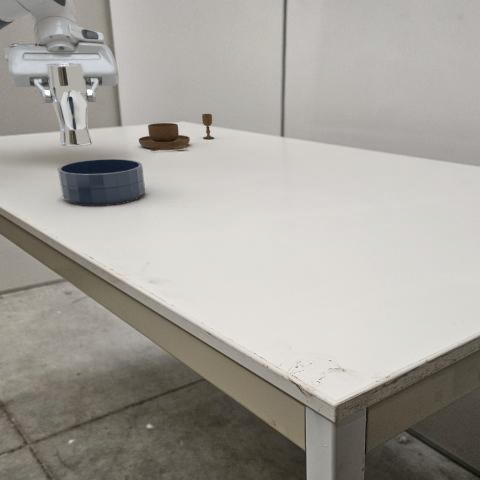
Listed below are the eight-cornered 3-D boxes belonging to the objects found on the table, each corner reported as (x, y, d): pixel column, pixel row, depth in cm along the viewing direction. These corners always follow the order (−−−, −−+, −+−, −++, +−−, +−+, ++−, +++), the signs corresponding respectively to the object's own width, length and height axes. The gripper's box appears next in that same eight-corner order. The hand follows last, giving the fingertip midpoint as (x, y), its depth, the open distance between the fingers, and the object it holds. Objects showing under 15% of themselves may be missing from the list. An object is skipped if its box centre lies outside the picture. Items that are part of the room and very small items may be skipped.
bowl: (56, 208, 96) (50, 176, 94) (70, 189, 107) (65, 160, 105) (142, 204, 98) (139, 173, 96) (147, 186, 110) (144, 157, 108)
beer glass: (51, 146, 123) (37, 64, 116) (69, 140, 129) (57, 62, 122) (83, 147, 122) (71, 65, 115) (100, 142, 128) (90, 63, 121)
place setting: (133, 141, 153) (130, 117, 151) (211, 137, 161) (210, 113, 159) (146, 153, 139) (143, 126, 137) (231, 147, 147) (230, 121, 144)
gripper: (0, 31, 118) (9, 90, 114) (111, 33, 126) (123, 88, 122) (5, 56, 124) (14, 112, 120) (111, 56, 131) (123, 109, 128)
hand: (70, 100), depth 121 cm, fingers closed on beer glass, 7 cm apart
